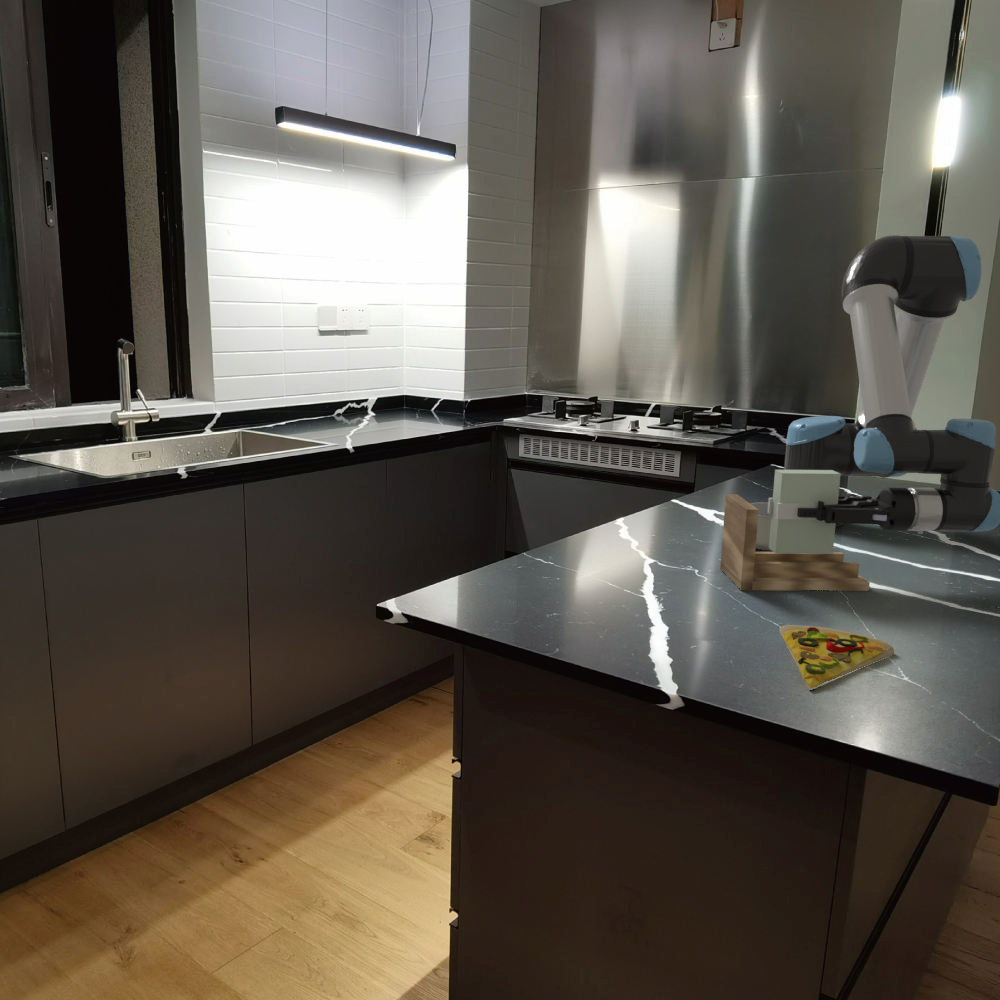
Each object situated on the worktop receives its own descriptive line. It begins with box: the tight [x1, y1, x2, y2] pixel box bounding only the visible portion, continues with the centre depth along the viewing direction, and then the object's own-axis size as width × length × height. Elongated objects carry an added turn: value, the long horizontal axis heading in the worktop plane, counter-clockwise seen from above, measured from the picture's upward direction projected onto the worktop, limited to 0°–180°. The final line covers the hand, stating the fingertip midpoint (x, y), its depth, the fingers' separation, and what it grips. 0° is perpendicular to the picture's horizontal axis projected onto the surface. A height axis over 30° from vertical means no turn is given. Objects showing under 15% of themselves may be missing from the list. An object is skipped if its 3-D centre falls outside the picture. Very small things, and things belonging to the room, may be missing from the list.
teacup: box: [750, 502, 773, 552], centre depth 172 cm, size 14×11×8 cm
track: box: [719, 493, 870, 592], centre depth 150 cm, size 22×12×14 cm, turn 92°
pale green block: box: [769, 469, 841, 554], centre depth 149 cm, size 10×4×14 cm, turn 92°
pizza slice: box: [778, 624, 895, 688], centre depth 116 cm, size 16×21×3 cm
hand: (773, 508), depth 149 cm, fingers closed on pale green block, 3 cm apart
